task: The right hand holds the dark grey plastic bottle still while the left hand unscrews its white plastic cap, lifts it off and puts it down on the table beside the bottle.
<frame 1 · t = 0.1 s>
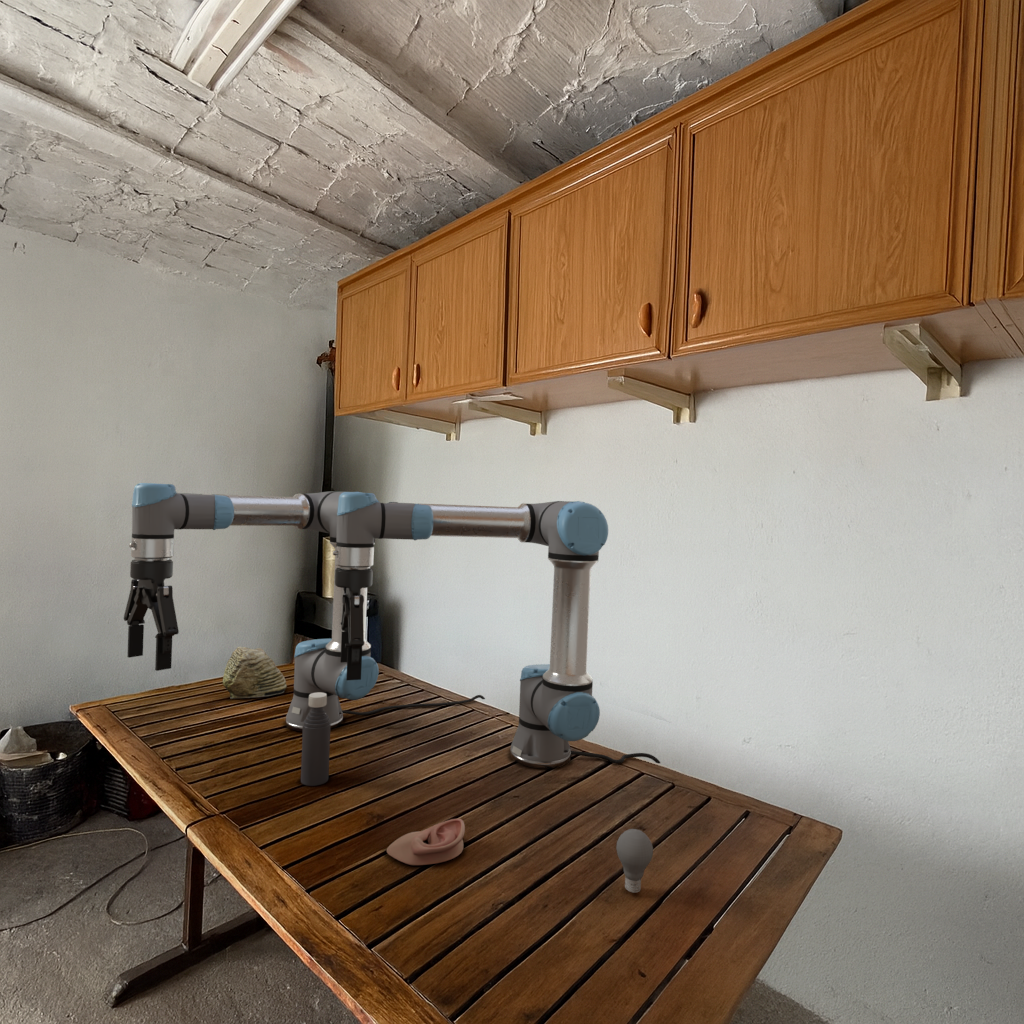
left hand: (148, 662, 129), 28 cm above the table, tool pointing down, fingers open, 13 cm apart
right hand: (350, 670, 130), 28 cm above the table, tool pointing down, fingers open, 13 cm apart
light bulb: (632, 891, 106), on the table
anatomical model: (426, 849, 115), on the table
bottle: (314, 780, 141), on the table
cap: (317, 696, 141), point 19 cm above the table, screwed on, not yet turned
fossil: (254, 694, 198), on the table
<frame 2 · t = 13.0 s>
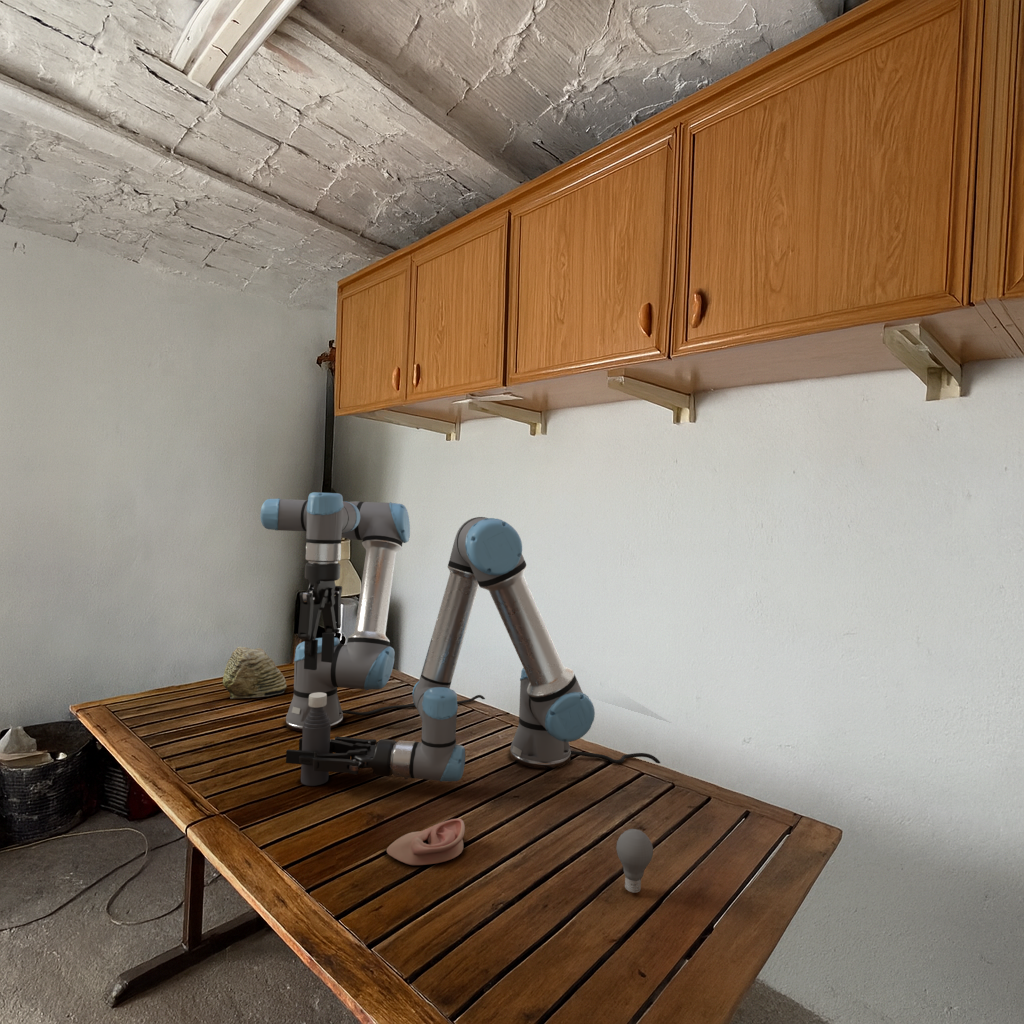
left hand: (319, 665, 141), 26 cm above the table, tool pointing down, fingers open, 6 cm apart
right hand: (293, 750, 142), 6 cm above the table, tool horizontal, fingers closed on bottle, 6 cm apart
bottle: (314, 780, 141), on the table, touching right hand
everything else where it was.
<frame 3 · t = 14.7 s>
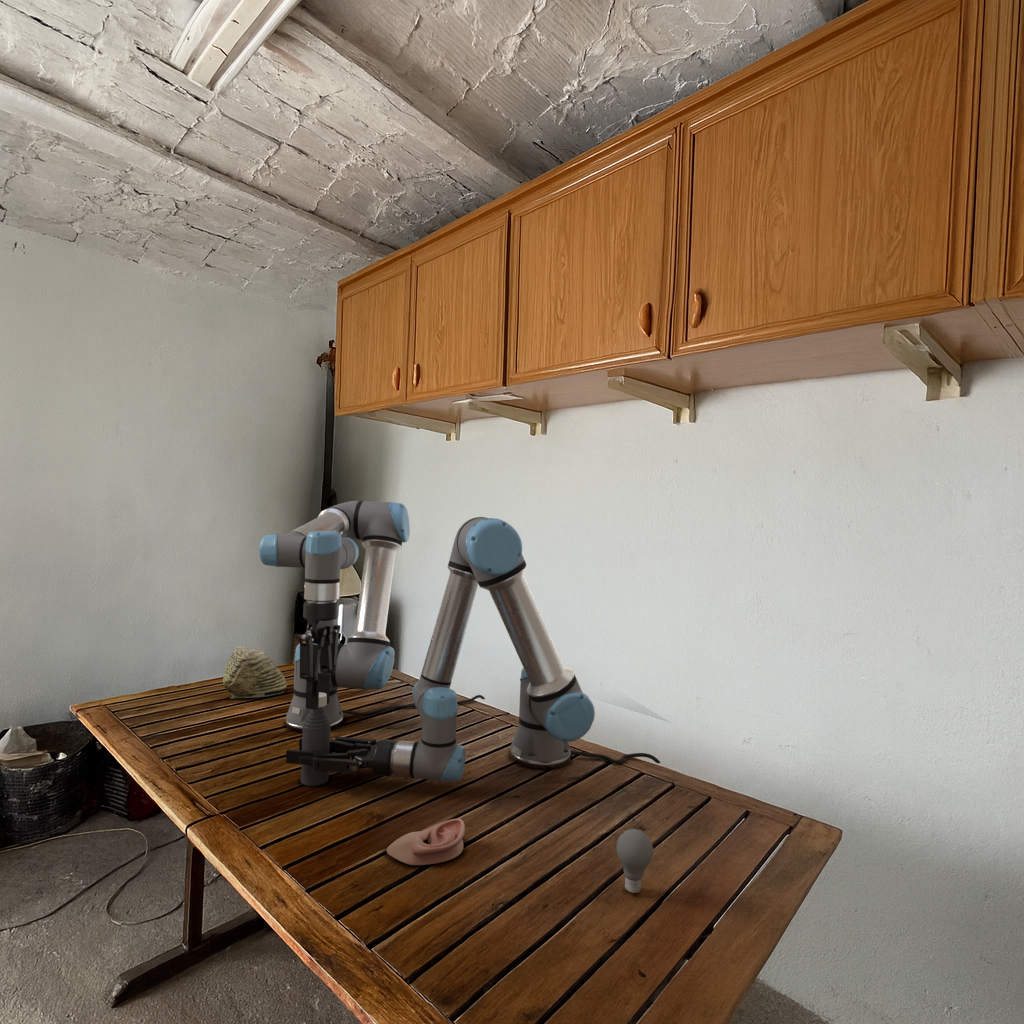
left hand: (317, 705, 141), 17 cm above the table, tool pointing down, fingers closed on cap, 4 cm apart
right hand: (293, 750, 142), 6 cm above the table, tool horizontal, fingers closed on bottle, 6 cm apart
bottle: (314, 780, 141), on the table, touching right hand
cap: (317, 696, 141), point 19 cm above the table, screwed on, not yet turned, touching left hand
everything else where it was.
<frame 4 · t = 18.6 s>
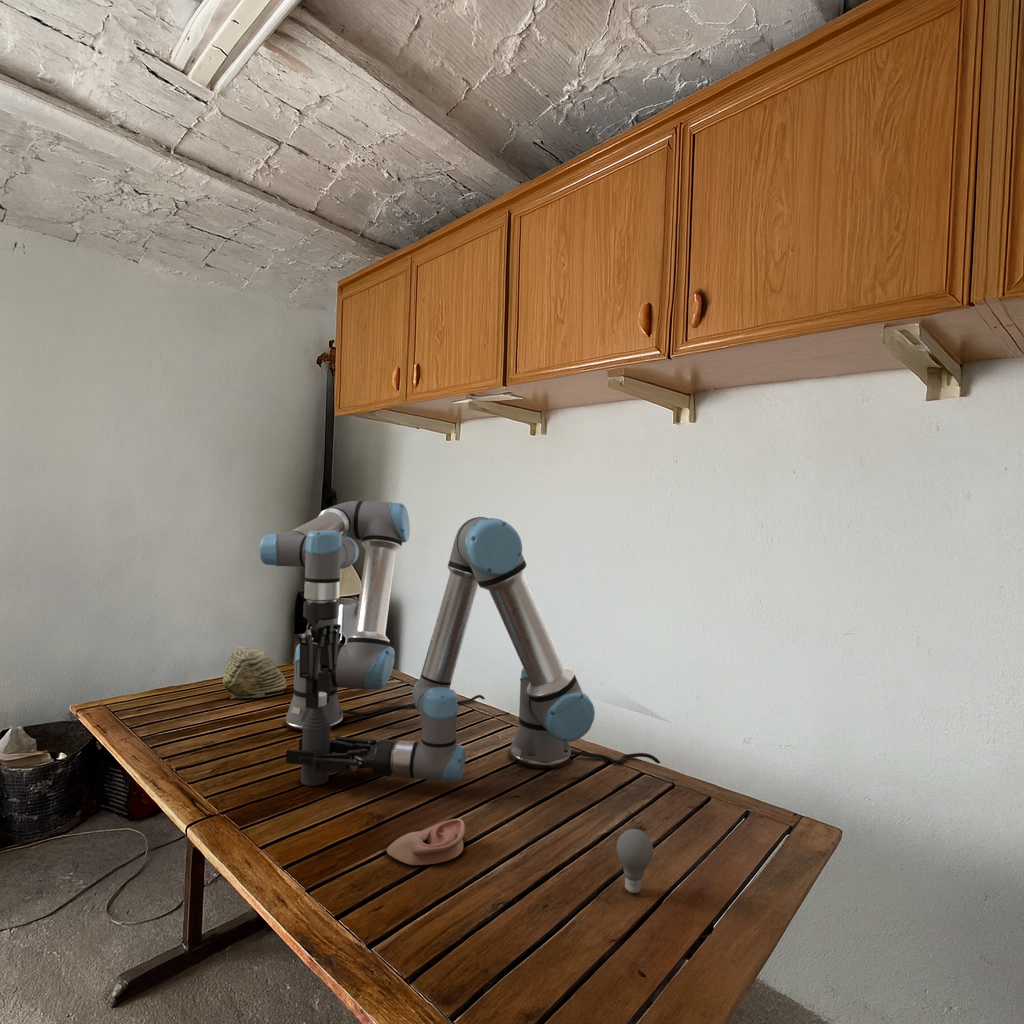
left hand: (317, 704, 141), 17 cm above the table, tool pointing down, fingers closed on cap, 4 cm apart
right hand: (293, 750, 142), 6 cm above the table, tool horizontal, fingers closed on bottle, 6 cm apart
bottle: (314, 780, 141), on the table, touching right hand
cap: (317, 695, 141), point 19 cm above the table, turned 136° so far, risen 0.2 cm, still on its thread, touching left hand
everything else where it was.
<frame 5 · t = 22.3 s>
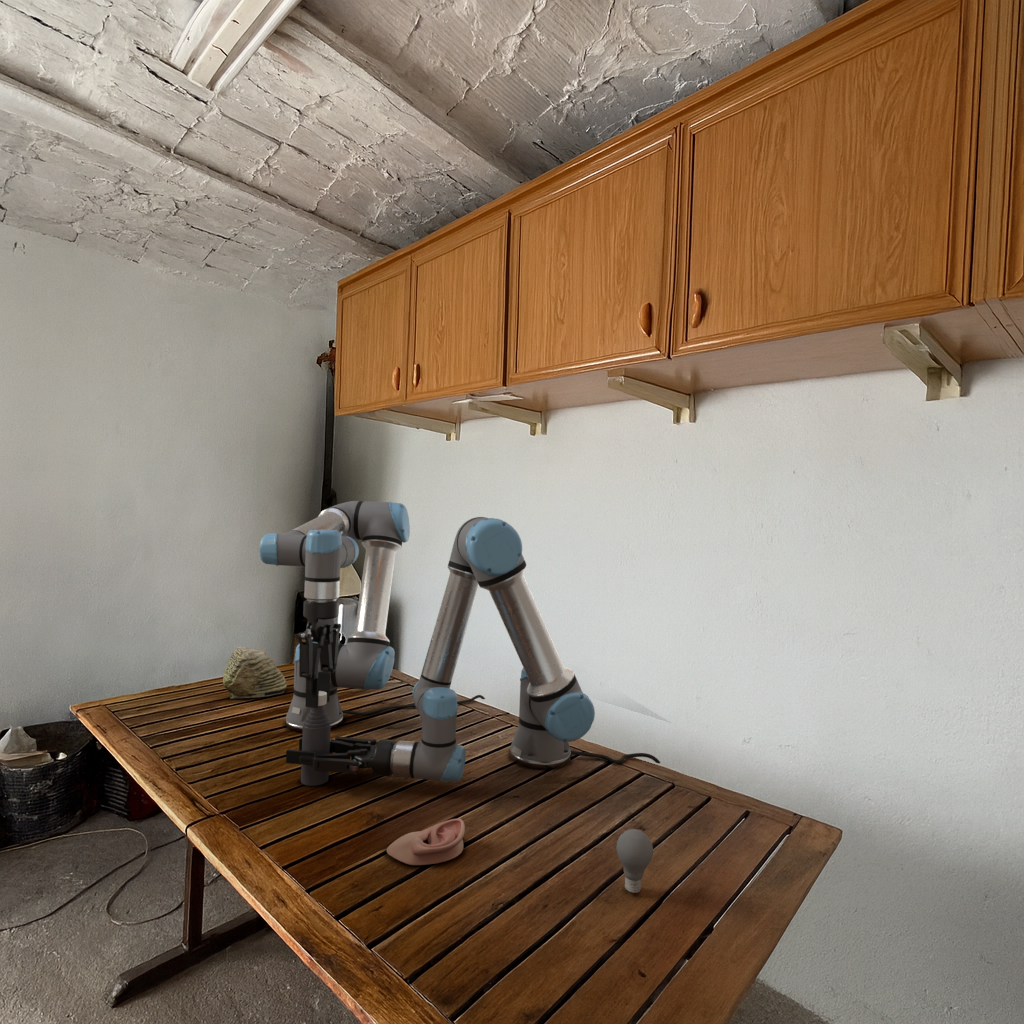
left hand: (317, 703, 141), 17 cm above the table, tool pointing down, fingers closed on cap, 4 cm apart
right hand: (293, 750, 142), 6 cm above the table, tool horizontal, fingers closed on bottle, 6 cm apart
bottle: (314, 780, 141), on the table, touching right hand
cap: (317, 694, 141), point 19 cm above the table, turned 273° so far, risen 0.3 cm, still on its thread, touching left hand
everything else where it was.
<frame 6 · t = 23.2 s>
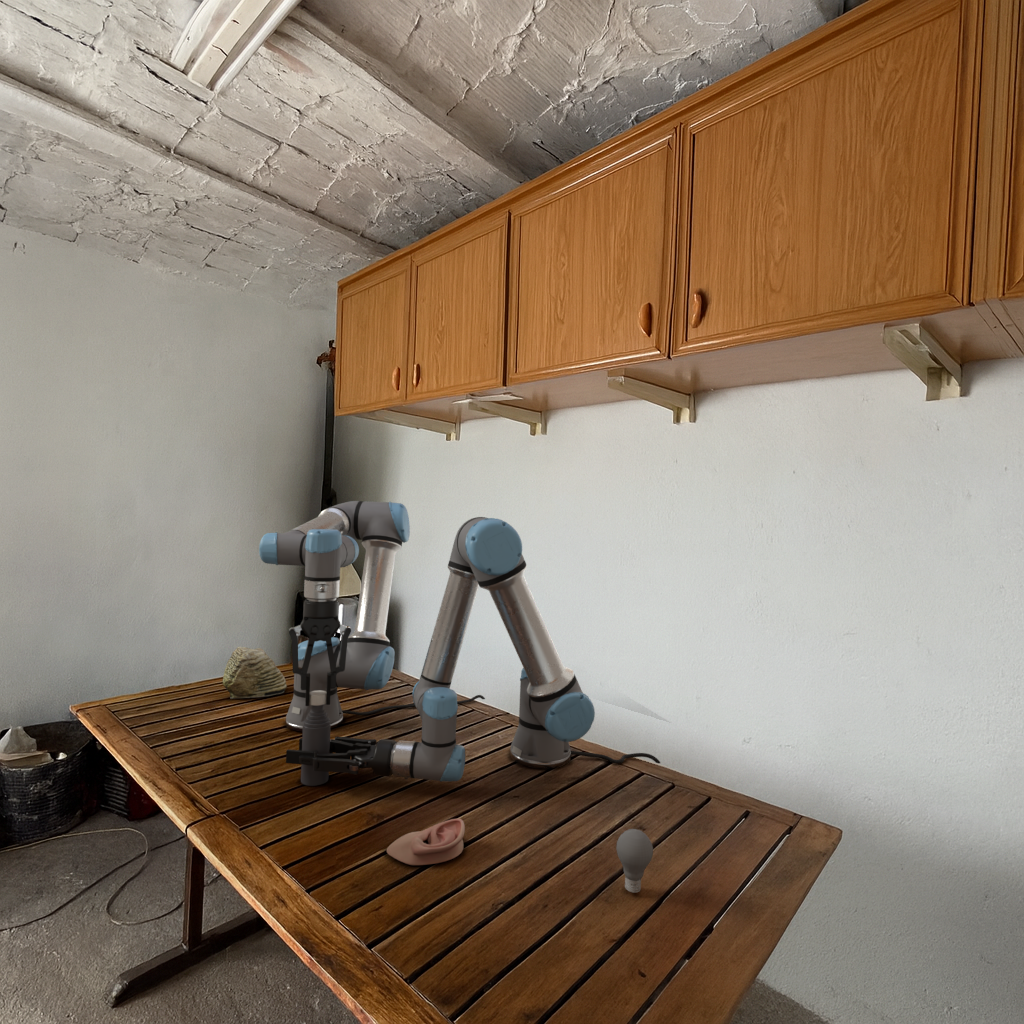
left hand: (317, 703, 141), 17 cm above the table, tool pointing down, fingers closed on cap, 4 cm apart
right hand: (293, 750, 142), 6 cm above the table, tool horizontal, fingers closed on bottle, 6 cm apart
bottle: (314, 780, 141), on the table, touching right hand
cap: (318, 694, 141), point 19 cm above the table, off its thread, touching left hand
everything else where it was.
when the left hand's fingers open (1 cm above the table, at t = 28.4 s): cap drops 1 cm, point 2 cm above the table.
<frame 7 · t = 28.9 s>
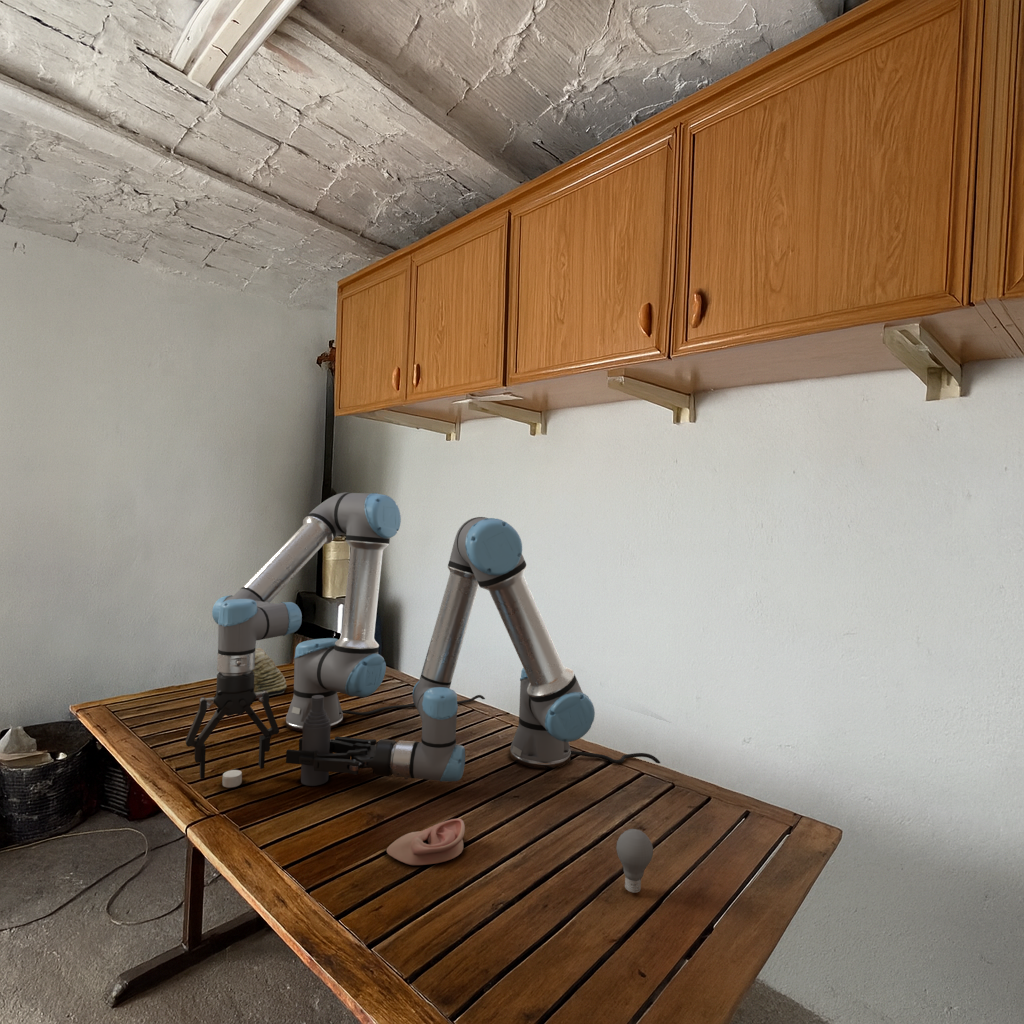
left hand: (232, 771, 138), 3 cm above the table, tool pointing down, fingers open, 11 cm apart
right hand: (293, 750, 142), 6 cm above the table, tool horizontal, fingers closed on bottle, 6 cm apart
bottle: (314, 780, 141), on the table, touching right hand
cap: (232, 774, 138), point 2 cm above the table, off its thread
everything else where it was.
when the right hand's fingers open (6 cm above the table, at t = 29.6 s): bottle stays where it is, on the table.
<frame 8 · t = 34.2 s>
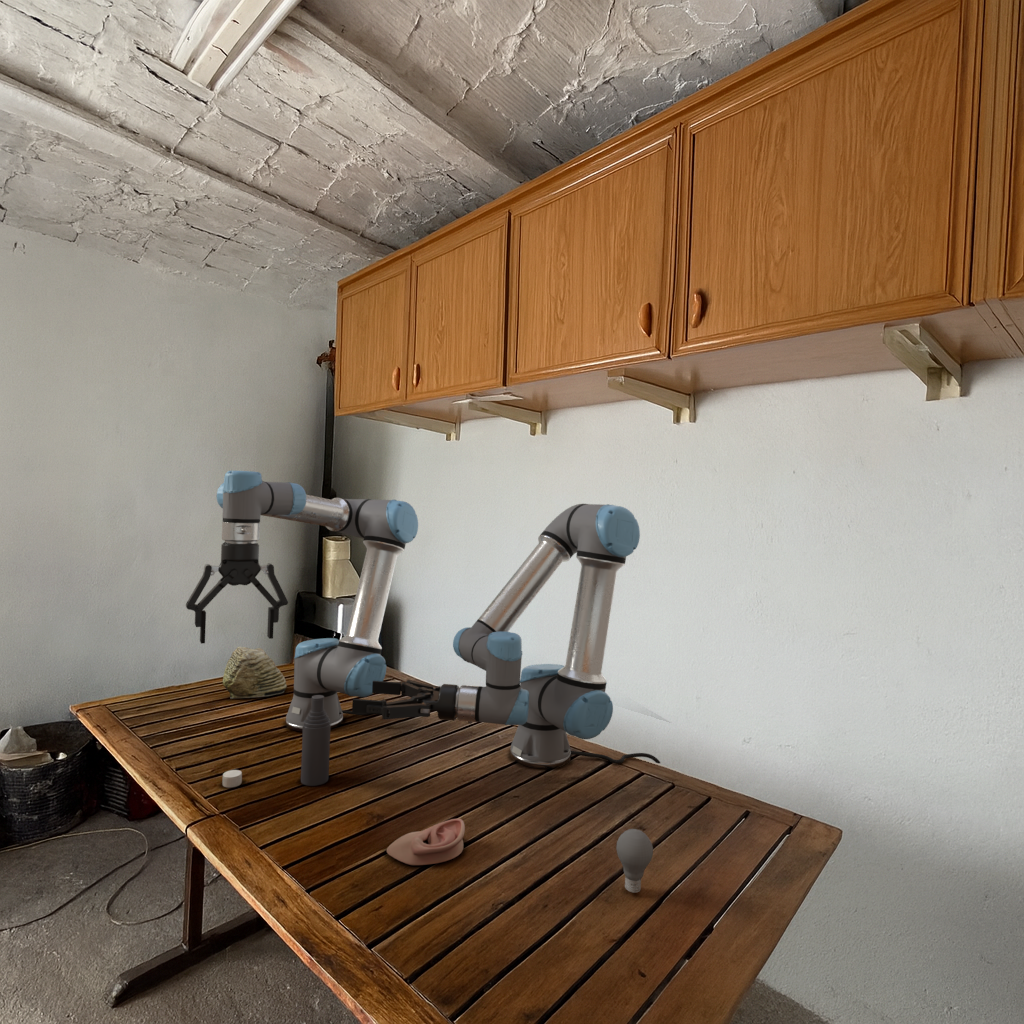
left hand: (237, 639, 137), 31 cm above the table, tool pointing down, fingers open, 13 cm apart
right hand: (363, 695, 140), 20 cm above the table, tool horizontal, fingers open, 13 cm apart
bottle: (314, 780, 141), on the table
everything else where it was.
at the end: cap came off its thread; cap point 1.9 cm above the table; the left hand is holding nothing; the right hand is holding nothing; bottle tilted 0°; bottle moved 0.0 cm from its start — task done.
